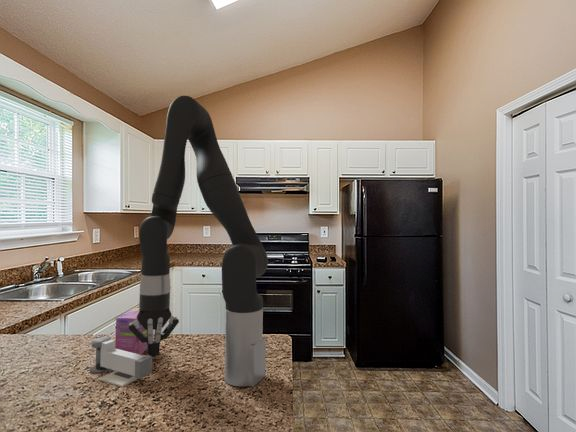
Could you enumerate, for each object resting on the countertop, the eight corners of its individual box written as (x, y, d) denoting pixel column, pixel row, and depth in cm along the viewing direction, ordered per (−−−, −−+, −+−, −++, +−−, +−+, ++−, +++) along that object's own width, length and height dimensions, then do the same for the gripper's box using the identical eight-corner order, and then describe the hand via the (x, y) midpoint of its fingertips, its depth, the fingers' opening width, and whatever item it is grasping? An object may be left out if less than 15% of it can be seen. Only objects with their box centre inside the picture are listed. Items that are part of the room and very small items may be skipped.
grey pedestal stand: (116, 367, 86) (116, 344, 86) (98, 375, 81) (98, 350, 82) (103, 363, 88) (103, 341, 88) (85, 371, 83) (85, 347, 84)
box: (134, 361, 90) (135, 318, 90) (114, 360, 90) (115, 317, 90) (151, 346, 100) (152, 308, 100) (133, 346, 100) (133, 307, 101)
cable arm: (87, 364, 84) (87, 341, 84) (103, 358, 88) (103, 336, 88) (138, 379, 76) (138, 354, 76) (153, 372, 80) (153, 347, 80)
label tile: (149, 372, 83) (149, 370, 83) (122, 386, 76) (122, 384, 76) (127, 366, 86) (127, 364, 86) (99, 379, 79) (99, 377, 79)
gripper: (178, 286, 93) (176, 347, 93) (126, 290, 87) (124, 355, 87) (183, 291, 87) (181, 357, 86) (128, 296, 80) (126, 366, 80)
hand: (153, 356), depth 86 cm, fingers closed
